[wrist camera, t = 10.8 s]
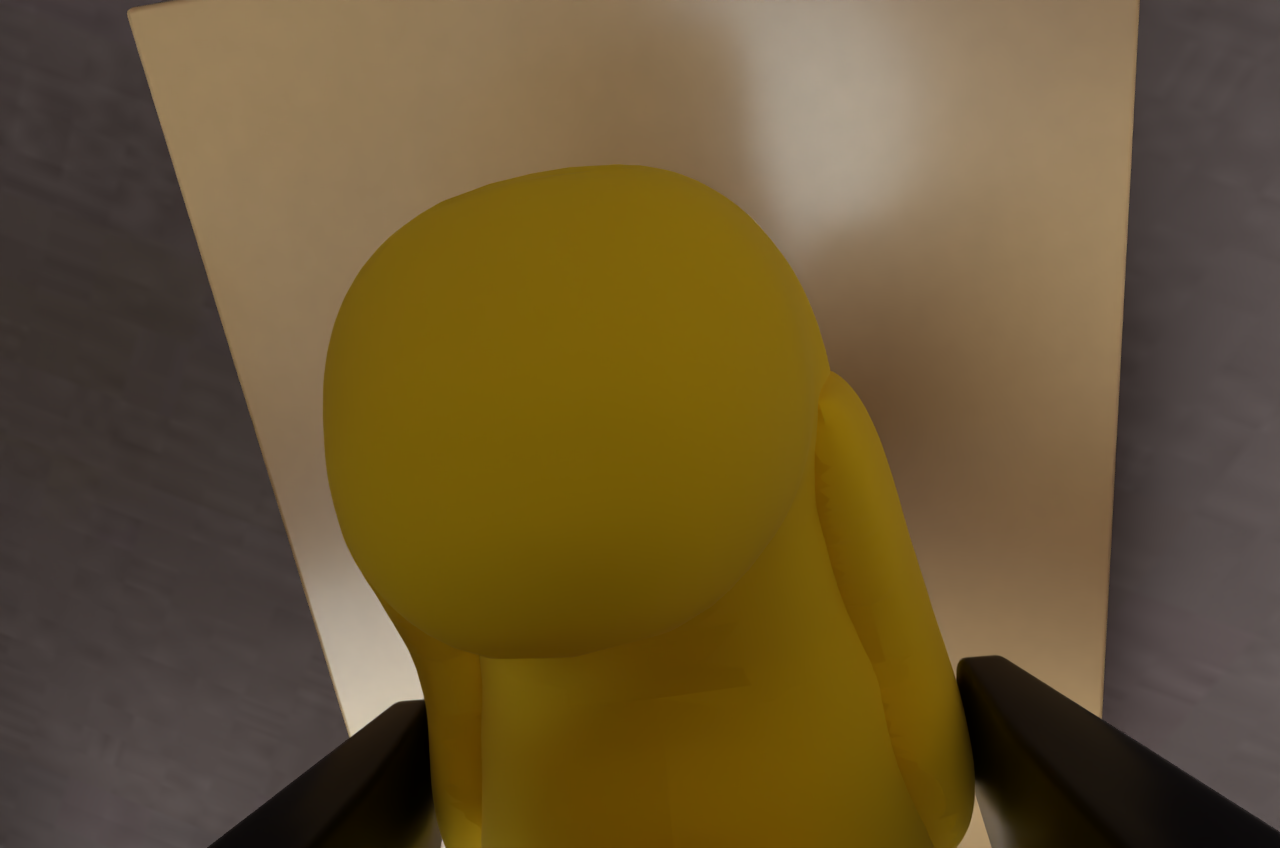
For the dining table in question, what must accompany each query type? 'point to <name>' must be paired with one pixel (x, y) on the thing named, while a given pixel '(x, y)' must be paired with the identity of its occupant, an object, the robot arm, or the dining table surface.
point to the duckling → (636, 531)
